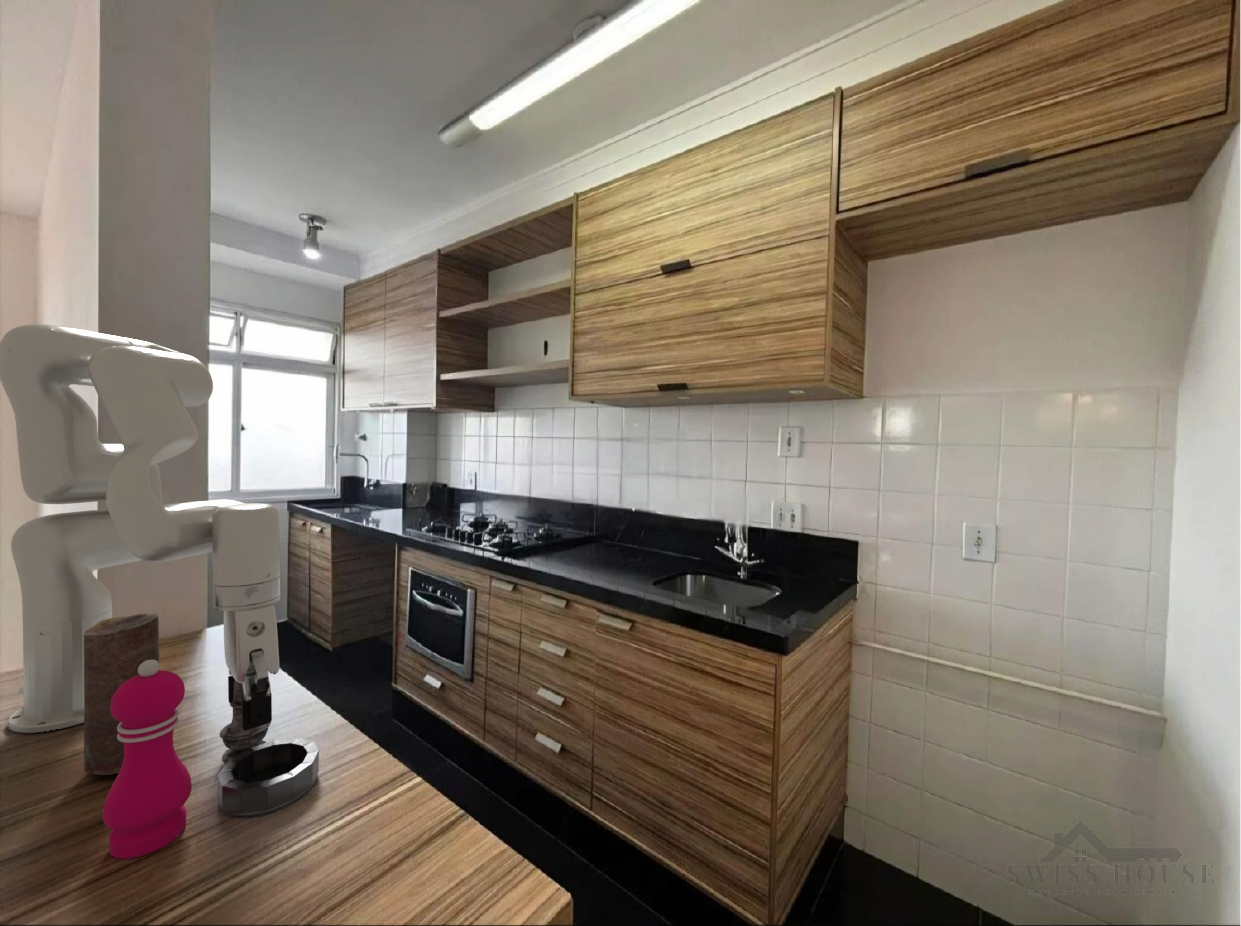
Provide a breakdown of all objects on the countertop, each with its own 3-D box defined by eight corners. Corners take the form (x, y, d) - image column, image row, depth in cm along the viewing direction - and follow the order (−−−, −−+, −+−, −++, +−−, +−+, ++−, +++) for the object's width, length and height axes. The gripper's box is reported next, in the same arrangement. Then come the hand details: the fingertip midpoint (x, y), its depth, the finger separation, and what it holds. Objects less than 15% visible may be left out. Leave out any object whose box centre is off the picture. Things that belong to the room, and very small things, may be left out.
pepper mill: (184, 804, 62) (184, 642, 61) (198, 835, 57) (199, 660, 56) (98, 838, 56) (97, 660, 55) (107, 876, 52) (106, 682, 51)
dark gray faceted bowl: (197, 807, 61) (197, 779, 61) (274, 757, 71) (274, 733, 71) (265, 826, 59) (266, 796, 59) (335, 771, 69) (335, 746, 68)
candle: (135, 782, 65) (134, 628, 64) (66, 788, 64) (64, 631, 63) (173, 746, 73) (173, 608, 72) (112, 751, 71) (111, 610, 70)
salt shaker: (243, 768, 69) (244, 680, 68) (208, 761, 70) (208, 675, 69) (280, 743, 74) (281, 662, 74) (247, 737, 76) (247, 657, 75)
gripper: (295, 600, 68) (297, 726, 68) (265, 576, 80) (266, 683, 80) (225, 613, 62) (227, 749, 63) (203, 585, 74) (205, 700, 75)
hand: (249, 712), depth 72 cm, fingers open, 9 cm apart
